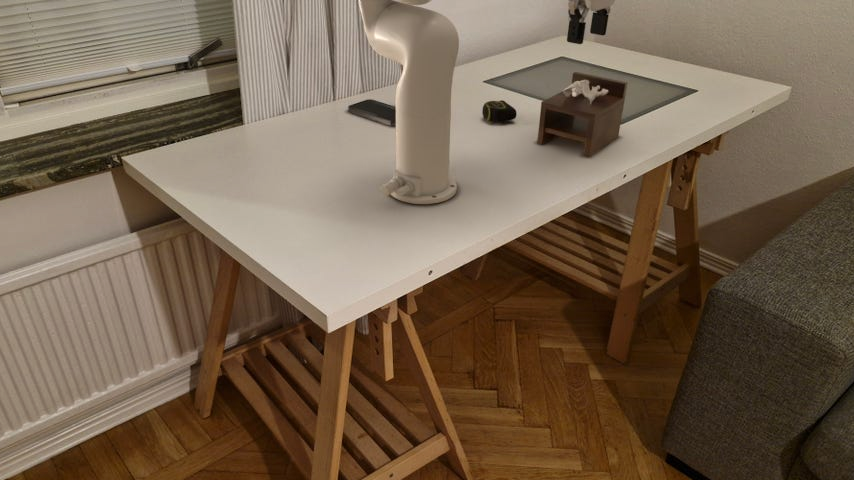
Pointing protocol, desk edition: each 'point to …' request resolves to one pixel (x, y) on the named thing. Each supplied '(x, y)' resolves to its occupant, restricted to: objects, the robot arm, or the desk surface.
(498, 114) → the tape measure
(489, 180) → the desk surface
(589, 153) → the shelf
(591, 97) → the pelvis model
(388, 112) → the phone
